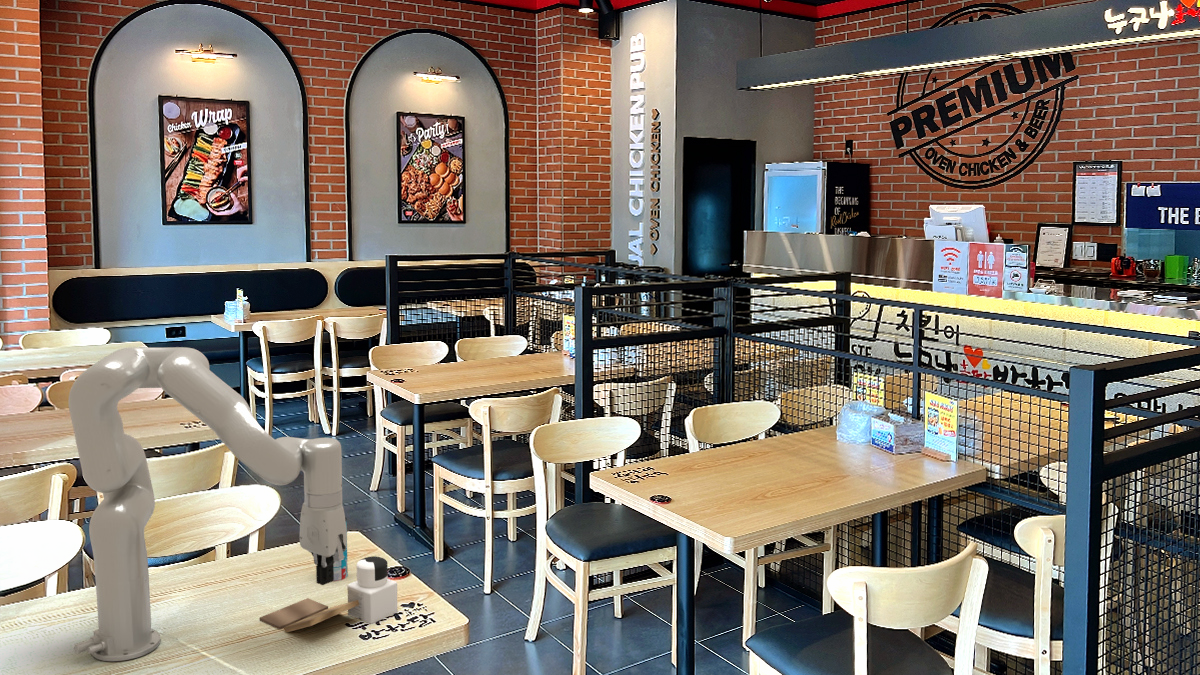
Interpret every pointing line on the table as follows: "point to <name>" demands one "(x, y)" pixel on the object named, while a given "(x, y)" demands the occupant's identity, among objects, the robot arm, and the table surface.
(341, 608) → the oak plank
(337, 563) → the beverage can
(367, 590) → the container
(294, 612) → the laid walnut plank
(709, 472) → the table surface
